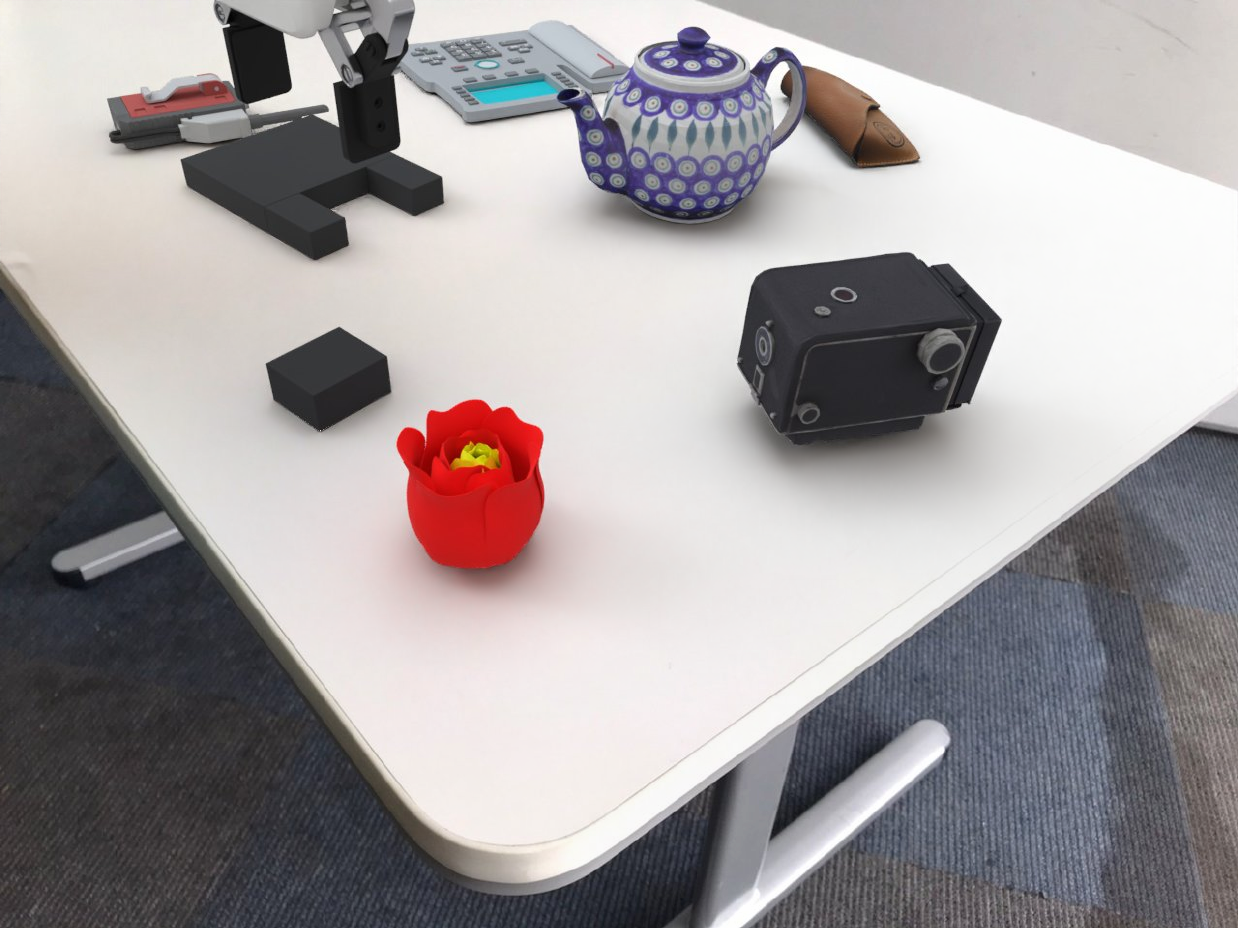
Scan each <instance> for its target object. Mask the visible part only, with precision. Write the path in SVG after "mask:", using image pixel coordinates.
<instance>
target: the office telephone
mask: <svg viewBox="0 0 1238 928" xmlns="http://www.w3.org/2000/svg"><path fill="white" fill-rule="evenodd" d="M408 44H409V48H408V52H407V53H406V55H405V56H404V57H403V59H402V60H401V61H400V62H401V71H402V72H403V73H404V74H405V75H407V77H408V78H410V79H411V80H412V81H413V82H414V83H415V84H416V85H417V86H418V87H420V88H421V89H422V90H424V91H425V92H428V93H435V94H436V95H438V96H439V97H441V98H442V99H443V100H444V101H445V102H446V103H448V104H449V105H450V106H451V107H452V108H453V109H454V110H455V111H456V112H458V114H460V115H461V116H462V120H463V121H464V122H467V123H476V122H481V121H482V122H483V121H488V120H496V119H501V118H507V117H513V116H514V117H515V116H520V115H521V116H522V115H526V114H533V113H539V112H546V111H552V110H558V109H564V108H569V107H568V106H566V105H564V104H562V103H560V102H558V101H557V99H556V97H557V95H558V93H559V92H561V91H562V90H564V89H568V88H573V87H576V88H581V89H582V90H584V91H586V92H587V93H588V94H589V96H590V97H591V98H592V99H593V97H592V96H593V94H597V93H604V92H605V93H606V92H609V90H610V88H611V86H612V85H613V84H614V82H615V81H616V80H617V79H618V78H619V77H621V76H622V75H623V74H624V73H625V72H627V71H628V70H629V69H630V68H631V67H630V66H628V65H627V64H625V63H624V62H623V61H622V60H620V59H618V58H617V57H615V55H614V54H613V53H611V52H610V51H609V50H607V49H606V48H604V47H603V46H601V45H600V44H599V43H597V42H596V41H594V40H593V39H592V38H591V37H589V36H588V35H586V34H585V33H583V32H582V31H581V30H579V29H578V28H577V27H575V26H574V25H573V24H566V23H565V22H564V21H560V20H556V19H555V20H554V19H553V20H552V19H551V20H550V19H549V20H543V21H540V22H537V23H535V24H533V25H532V26H530V27H529V29H524V30H516V31H510V32H509V31H507V32H500V33H493V34H492V33H491V34H485V35H484V34H483V35H476V36H469V37H460V38H454V39H453V38H452V39H445V40H435V41H428V42H417V43H408Z"/></svg>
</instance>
